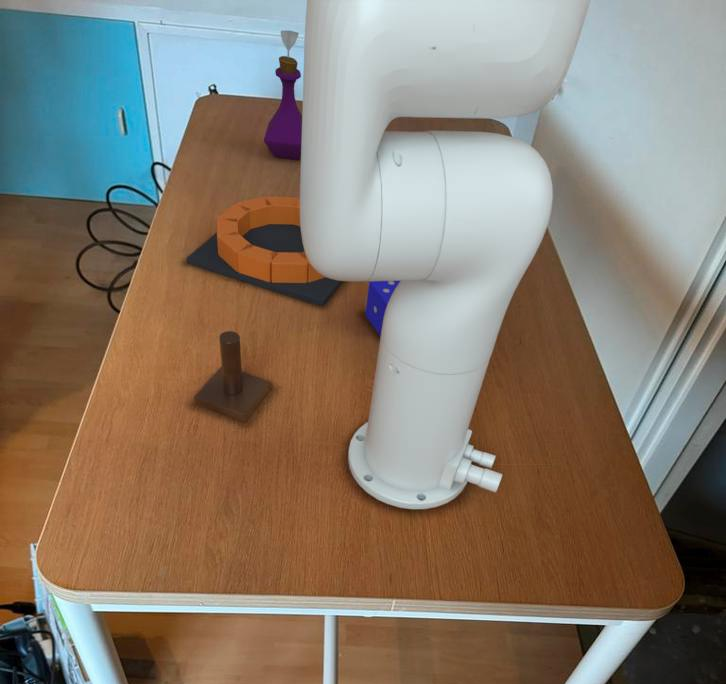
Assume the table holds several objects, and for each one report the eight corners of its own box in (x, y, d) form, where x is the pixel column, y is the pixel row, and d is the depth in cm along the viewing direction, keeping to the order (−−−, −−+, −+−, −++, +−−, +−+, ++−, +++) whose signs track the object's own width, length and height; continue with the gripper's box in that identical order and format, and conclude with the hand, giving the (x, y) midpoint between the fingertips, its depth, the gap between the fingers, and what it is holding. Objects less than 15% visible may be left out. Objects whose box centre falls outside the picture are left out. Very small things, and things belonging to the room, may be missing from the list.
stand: (271, 389, 71) (270, 330, 65) (245, 423, 67) (241, 362, 61) (223, 373, 72) (218, 312, 66) (194, 405, 68) (186, 344, 62)
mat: (372, 245, 94) (373, 240, 93) (322, 306, 82) (323, 301, 82) (250, 209, 97) (250, 203, 97) (186, 263, 86) (186, 257, 85)
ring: (368, 236, 94) (370, 218, 92) (317, 297, 82) (318, 278, 80) (257, 203, 97) (256, 185, 95) (192, 258, 85) (190, 238, 83)
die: (364, 315, 82) (368, 280, 78) (399, 309, 84) (404, 275, 80) (381, 338, 79) (386, 303, 75) (416, 331, 81) (423, 297, 77)
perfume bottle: (307, 165, 109) (312, 42, 96) (263, 160, 109) (261, 36, 95) (310, 147, 114) (315, 27, 100) (268, 142, 113) (267, 21, 100)
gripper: (352, -183, 57) (338, 41, 70) (413, -186, 68) (391, 9, 81) (276, -197, 58) (276, 26, 71) (348, -197, 69) (337, -4, 82)
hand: (338, 17), depth 76 cm, fingers open, 9 cm apart
